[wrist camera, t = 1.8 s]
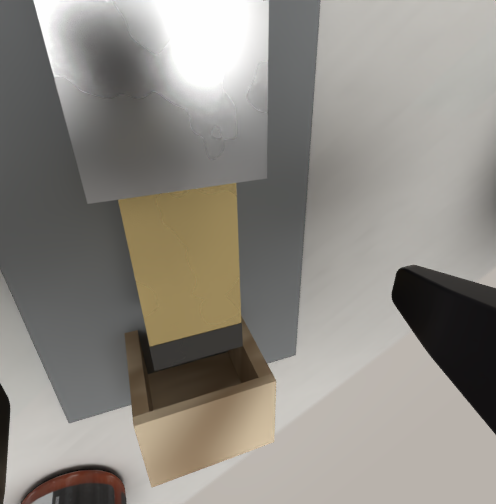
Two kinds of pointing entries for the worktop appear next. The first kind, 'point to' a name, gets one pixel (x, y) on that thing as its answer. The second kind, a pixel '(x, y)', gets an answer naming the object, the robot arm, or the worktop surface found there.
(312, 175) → the worktop surface
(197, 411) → the maple socket
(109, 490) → the supplement bottle
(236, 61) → the steel sleeve
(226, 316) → the tube
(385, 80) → the worktop surface
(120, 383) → the slate mat
